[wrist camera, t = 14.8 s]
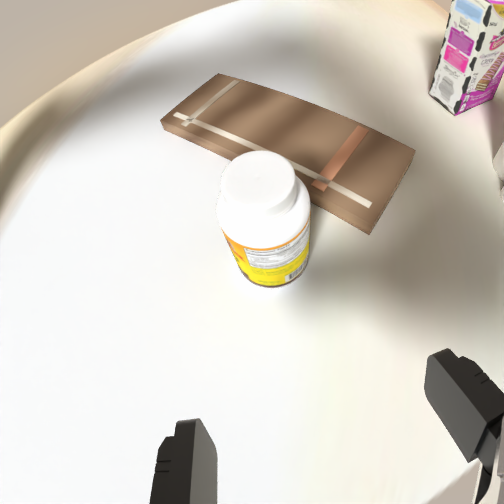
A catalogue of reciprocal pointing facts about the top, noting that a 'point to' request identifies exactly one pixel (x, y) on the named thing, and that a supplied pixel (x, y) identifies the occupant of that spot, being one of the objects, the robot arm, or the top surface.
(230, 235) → the supplement bottle
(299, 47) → the top surface
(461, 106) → the candy bar box
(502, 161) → the vase
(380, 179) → the walnut board
